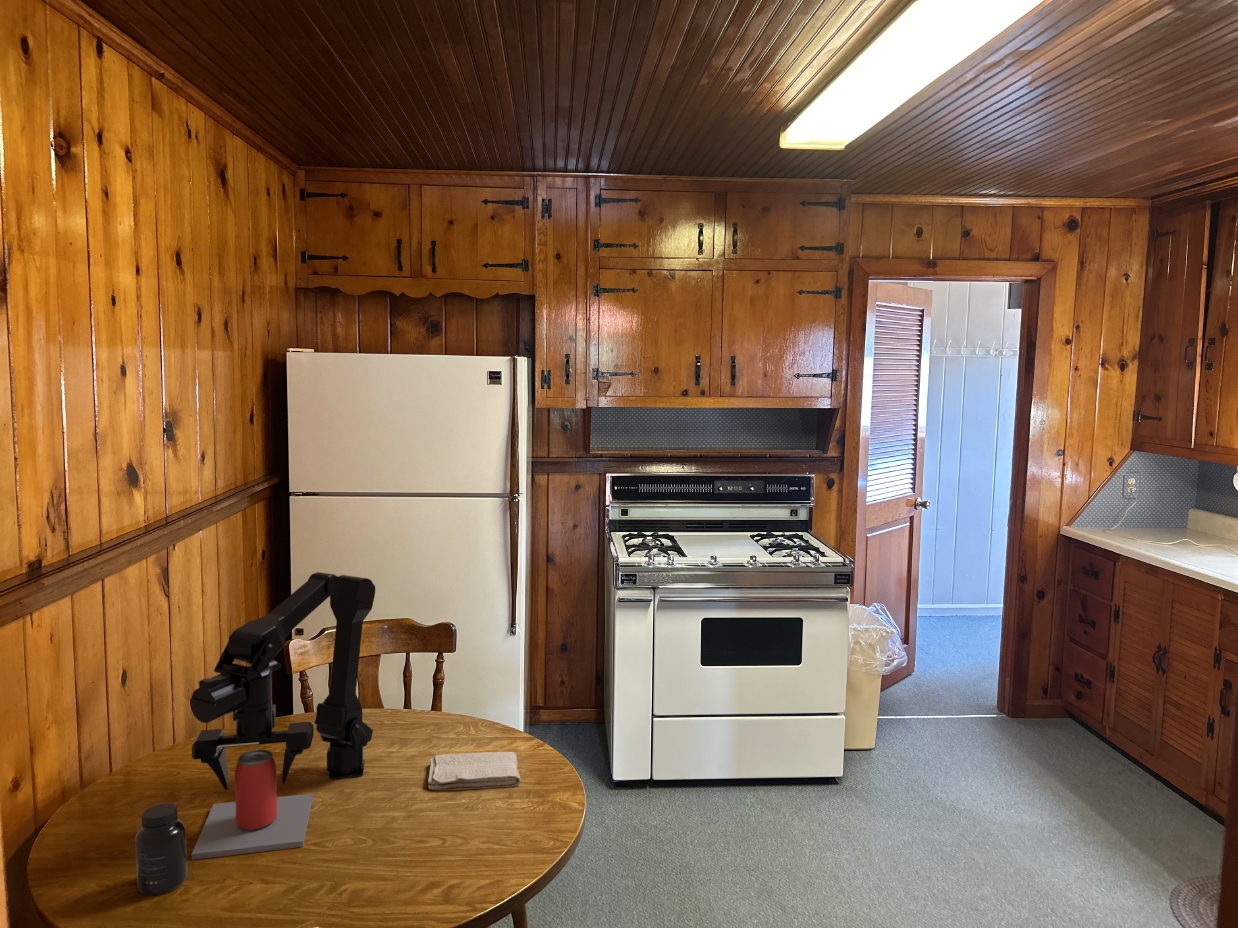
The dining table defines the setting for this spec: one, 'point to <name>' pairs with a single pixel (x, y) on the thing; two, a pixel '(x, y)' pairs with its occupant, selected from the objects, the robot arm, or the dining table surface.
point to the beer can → (255, 789)
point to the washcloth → (473, 771)
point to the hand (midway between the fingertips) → (255, 786)
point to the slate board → (232, 840)
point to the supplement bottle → (161, 850)
